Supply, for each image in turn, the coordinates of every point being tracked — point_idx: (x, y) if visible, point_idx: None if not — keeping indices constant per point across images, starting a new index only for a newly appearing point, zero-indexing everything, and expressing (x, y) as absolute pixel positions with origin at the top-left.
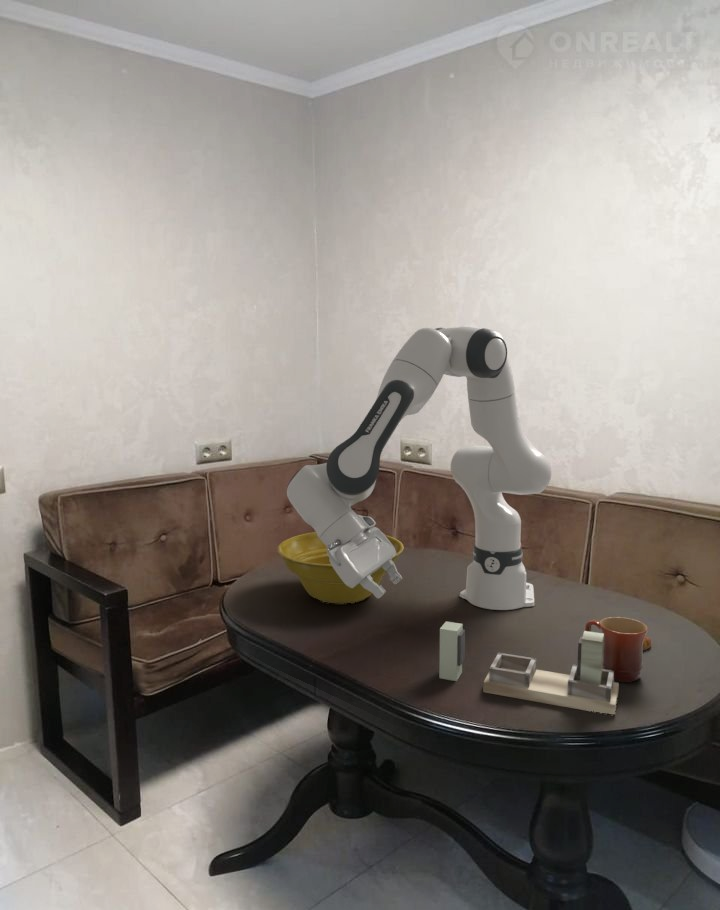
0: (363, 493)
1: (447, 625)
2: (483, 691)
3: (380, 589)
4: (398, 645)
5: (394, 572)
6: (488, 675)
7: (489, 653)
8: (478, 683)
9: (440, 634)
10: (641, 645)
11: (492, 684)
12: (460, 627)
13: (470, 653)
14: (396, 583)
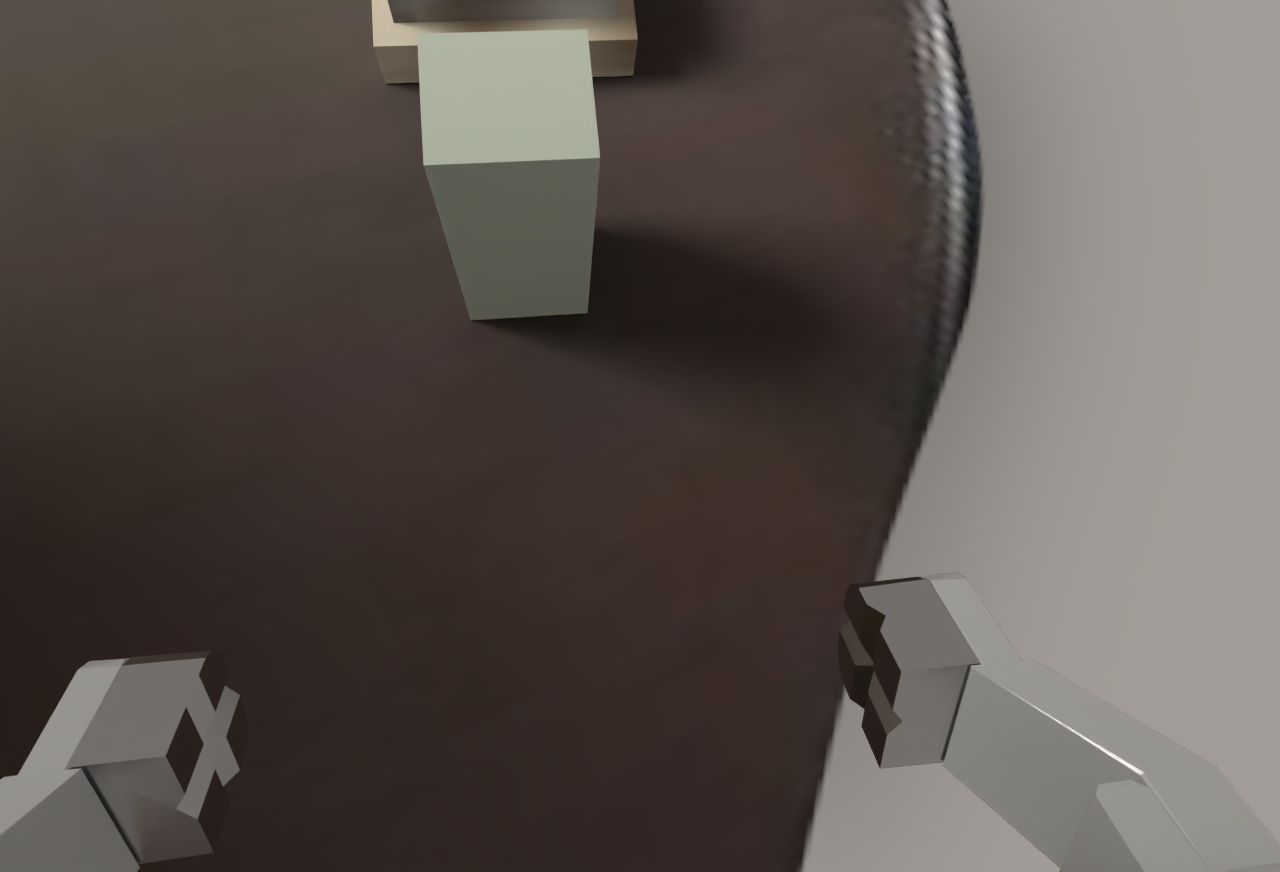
0: None
1: (506, 126)
2: (633, 72)
3: (990, 615)
4: None
5: (80, 810)
6: None
7: (134, 167)
8: None
9: (596, 178)
10: None
11: (633, 1)
12: (488, 35)
13: (178, 264)
14: (239, 706)
